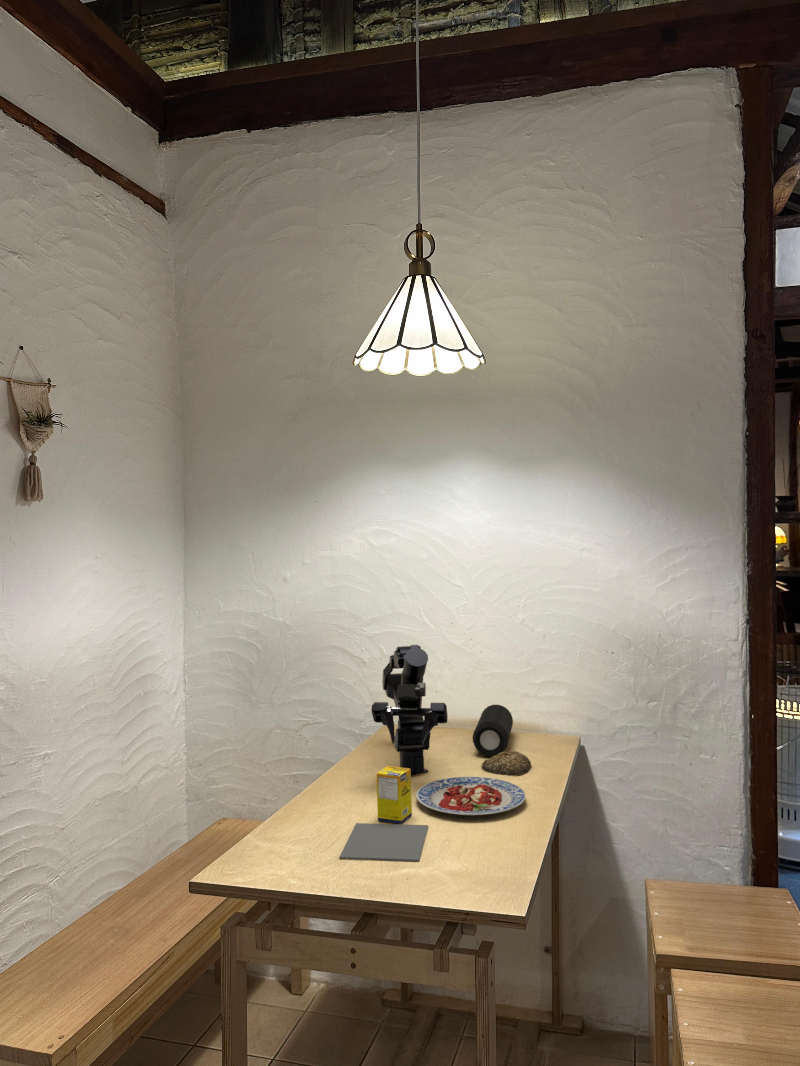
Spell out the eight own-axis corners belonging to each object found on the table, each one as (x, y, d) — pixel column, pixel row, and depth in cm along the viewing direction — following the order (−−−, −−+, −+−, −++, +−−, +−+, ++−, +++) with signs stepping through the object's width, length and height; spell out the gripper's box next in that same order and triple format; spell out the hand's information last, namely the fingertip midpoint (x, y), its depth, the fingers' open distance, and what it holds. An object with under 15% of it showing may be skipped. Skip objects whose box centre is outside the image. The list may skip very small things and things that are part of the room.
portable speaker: (481, 734, 255) (480, 702, 255) (513, 735, 253) (513, 702, 253) (472, 758, 230) (471, 723, 230) (507, 760, 228) (507, 724, 228)
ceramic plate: (416, 785, 208) (416, 774, 208) (519, 784, 208) (518, 772, 208) (415, 824, 183) (415, 810, 183) (532, 823, 182) (532, 809, 182)
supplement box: (412, 815, 187) (411, 767, 187) (401, 825, 182) (400, 775, 182) (388, 812, 190) (387, 765, 189) (377, 821, 184) (376, 772, 184)
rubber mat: (356, 824, 182) (356, 823, 182) (428, 826, 180) (428, 825, 180) (339, 858, 164) (339, 856, 164) (419, 861, 162) (419, 859, 162)
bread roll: (516, 779, 212) (516, 760, 212) (475, 771, 219) (475, 752, 219) (540, 766, 222) (540, 748, 222) (500, 759, 229) (500, 741, 229)
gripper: (371, 670, 207) (365, 725, 197) (445, 670, 205) (443, 726, 194) (377, 694, 215) (371, 748, 205) (448, 695, 213) (446, 749, 202)
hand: (407, 743), depth 201 cm, fingers open, 7 cm apart
